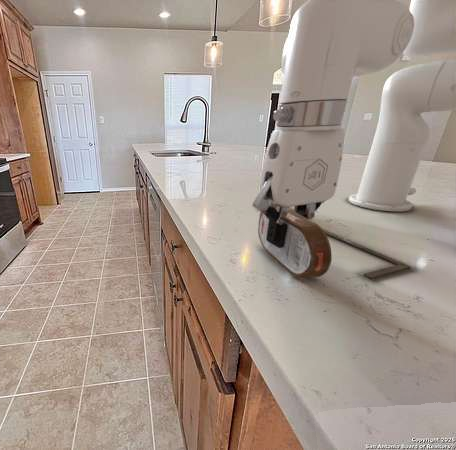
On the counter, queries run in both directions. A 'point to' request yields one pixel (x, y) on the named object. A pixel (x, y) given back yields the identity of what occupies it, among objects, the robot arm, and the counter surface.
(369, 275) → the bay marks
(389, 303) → the counter surface
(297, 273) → the tin
